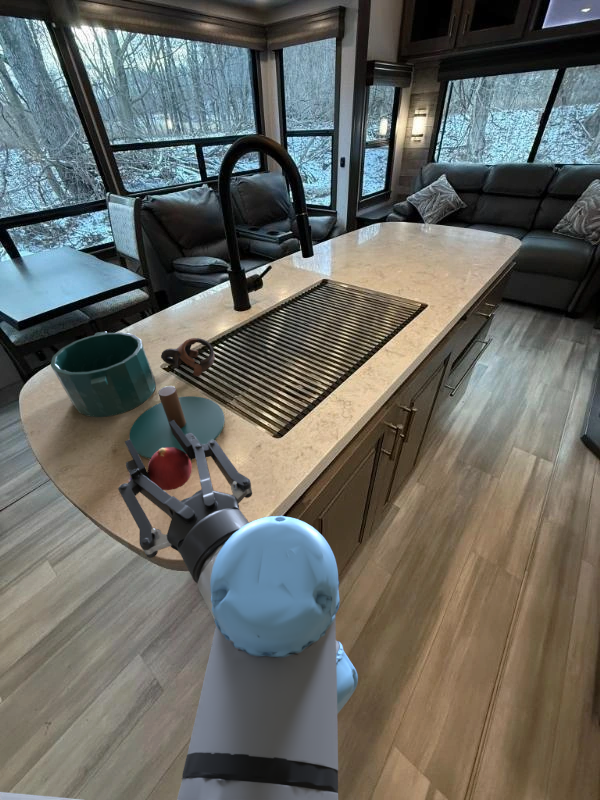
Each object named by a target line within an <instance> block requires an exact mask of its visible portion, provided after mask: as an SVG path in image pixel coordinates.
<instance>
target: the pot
mask: <svg viewBox="0 0 600 800" xmlns="http://www.w3.org/2000/svg"><path fill="white" fill-rule="evenodd" d="M50 367H51V368H52V371H53V372H54V374H55V376H56V377H57V379H58V381H59V382H60V384H61V386H62V388H63V390H64V391H65V394H66V395H67V397H68V398H69V400H70V402H71V404H72V405H73V406H74V408H75V409H76V411H78V413H79V414H81V415H84V416H87V417H92V418H107V417H113V416H117V415H120V414H124V413H126V412H129V411H132V410H134V409H135V408H137V407H139V406H141V405H143V404H144V403H145V402H146V401H148V400H149V399H150V397H152V395H153V394H154V392H155V390H156V387H157V383H156V379H155V376H154V372H153V369H152V366H151V365H150V360H149V358H148V356H147V353H146V350H145V347H144V344H143V341H142V339H141V338H139V337H138V336H137V335H135V334H132V333H127V332H107V331H100V332H95V333H94V335H89V336H87V337H86V336H85V337H84V338H81V339H77V340H75V341H73V342H71V343H69V344H67V345H65V346H63V347H61V348H60V349H59V350H58V351H57V352H56V353H55V354H54V355H53V356H52V357H51V361H50Z"/></svg>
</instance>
